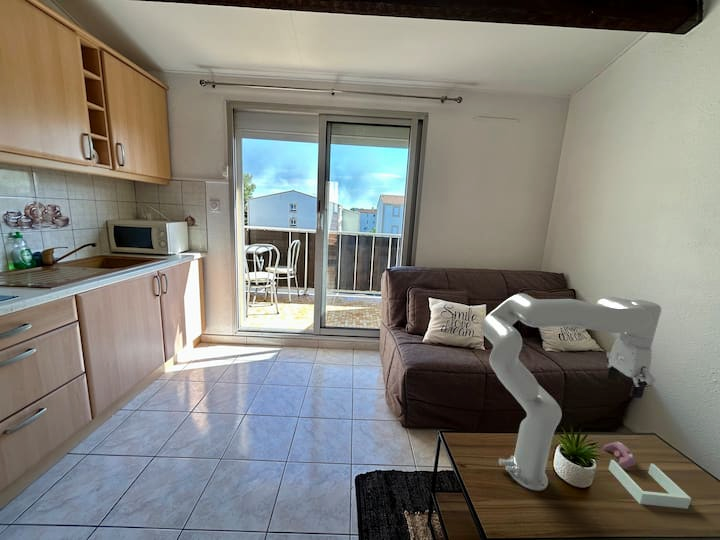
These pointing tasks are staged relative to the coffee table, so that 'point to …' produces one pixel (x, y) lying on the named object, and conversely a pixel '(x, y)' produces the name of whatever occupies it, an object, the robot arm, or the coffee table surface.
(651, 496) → the box
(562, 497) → the coffee table surface
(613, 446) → the video game controller
